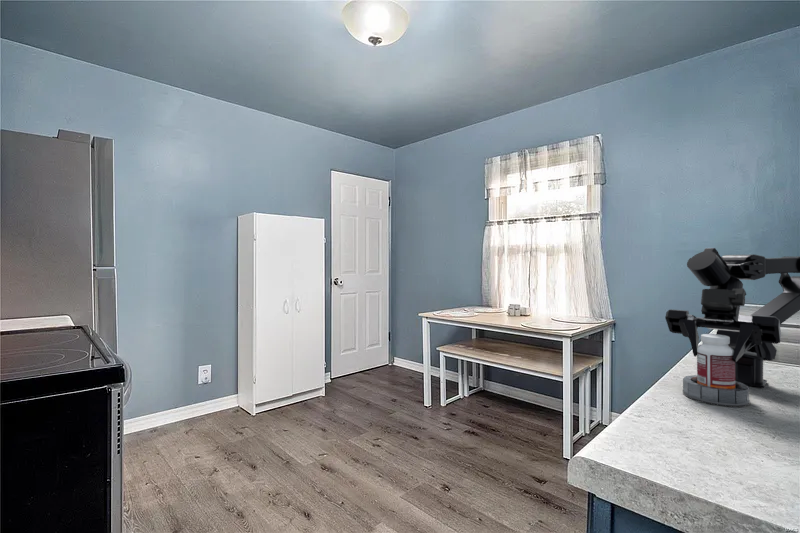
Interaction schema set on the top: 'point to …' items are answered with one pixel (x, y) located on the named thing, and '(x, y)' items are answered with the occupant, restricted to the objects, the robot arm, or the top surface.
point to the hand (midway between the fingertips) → (713, 357)
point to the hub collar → (716, 393)
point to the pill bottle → (715, 362)
